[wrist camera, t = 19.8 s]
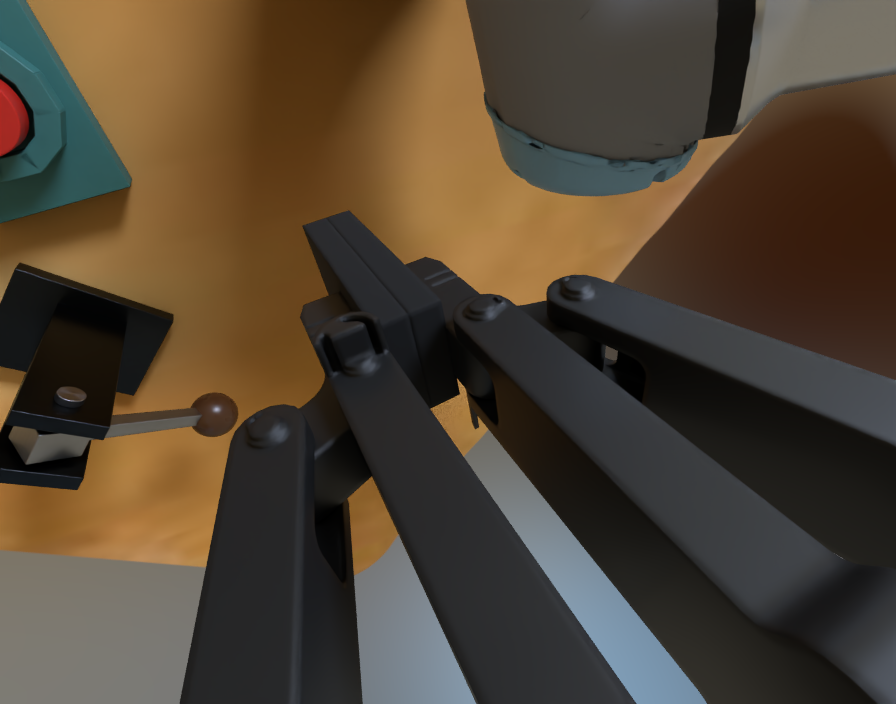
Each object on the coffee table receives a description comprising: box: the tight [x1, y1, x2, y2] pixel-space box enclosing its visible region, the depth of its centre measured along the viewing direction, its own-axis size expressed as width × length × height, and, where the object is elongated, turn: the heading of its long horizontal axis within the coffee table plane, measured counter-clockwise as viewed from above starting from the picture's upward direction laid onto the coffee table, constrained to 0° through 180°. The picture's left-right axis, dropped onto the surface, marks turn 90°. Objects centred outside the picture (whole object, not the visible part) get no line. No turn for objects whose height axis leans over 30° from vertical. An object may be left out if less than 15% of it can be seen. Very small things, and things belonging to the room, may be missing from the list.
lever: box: [9, 393, 238, 465], centre depth 32 cm, size 14×4×4 cm, turn 52°
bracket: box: [0, 263, 173, 490], centre depth 31 cm, size 10×8×14 cm
